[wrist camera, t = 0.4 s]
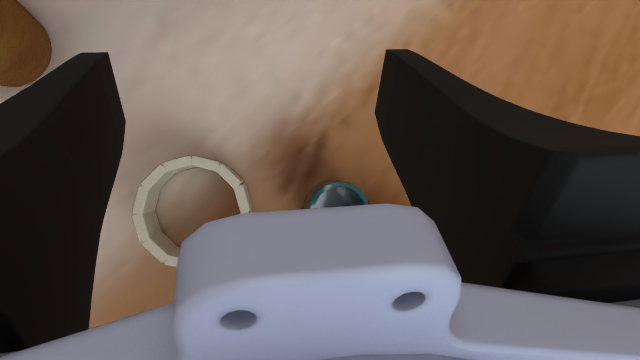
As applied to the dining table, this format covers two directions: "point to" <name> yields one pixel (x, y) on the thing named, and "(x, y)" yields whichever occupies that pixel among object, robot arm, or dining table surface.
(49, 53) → the disposable coffee cup
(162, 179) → the ivory ring
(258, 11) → the dining table surface
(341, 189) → the espresso cup
